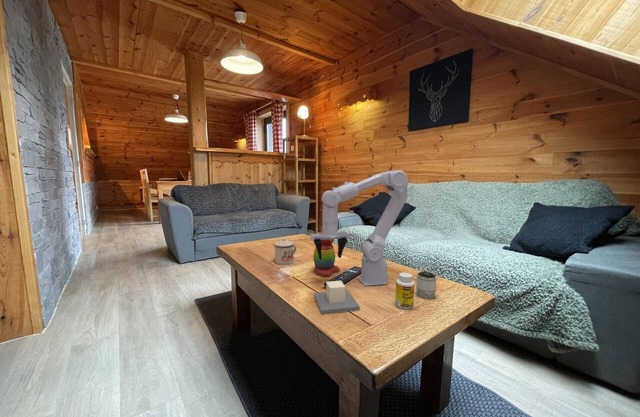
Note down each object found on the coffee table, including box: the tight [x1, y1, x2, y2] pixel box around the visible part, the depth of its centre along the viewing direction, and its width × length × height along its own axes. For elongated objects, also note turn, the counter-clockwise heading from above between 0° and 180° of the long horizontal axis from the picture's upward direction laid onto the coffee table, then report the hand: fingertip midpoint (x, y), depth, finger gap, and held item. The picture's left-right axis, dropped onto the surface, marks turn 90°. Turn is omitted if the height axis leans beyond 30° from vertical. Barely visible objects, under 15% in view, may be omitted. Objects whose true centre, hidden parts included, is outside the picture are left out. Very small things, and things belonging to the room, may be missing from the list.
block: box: [325, 280, 346, 303], centre depth 85 cm, size 5×5×5 cm
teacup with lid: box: [274, 237, 297, 266], centre depth 125 cm, size 12×9×12 cm
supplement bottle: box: [394, 272, 416, 310], centre depth 83 cm, size 6×6×10 cm
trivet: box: [313, 289, 361, 315], centre depth 85 cm, size 12×12×1 cm
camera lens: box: [415, 271, 437, 300], centre depth 90 cm, size 6×6×8 cm
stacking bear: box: [313, 230, 340, 278], centre depth 112 cm, size 11×10×18 cm
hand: (329, 257), depth 100 cm, fingers open, 7 cm apart
